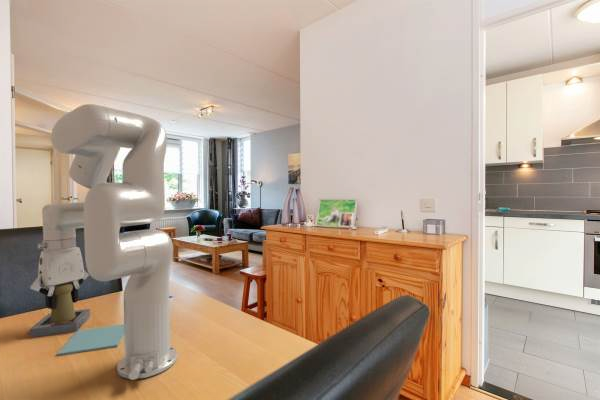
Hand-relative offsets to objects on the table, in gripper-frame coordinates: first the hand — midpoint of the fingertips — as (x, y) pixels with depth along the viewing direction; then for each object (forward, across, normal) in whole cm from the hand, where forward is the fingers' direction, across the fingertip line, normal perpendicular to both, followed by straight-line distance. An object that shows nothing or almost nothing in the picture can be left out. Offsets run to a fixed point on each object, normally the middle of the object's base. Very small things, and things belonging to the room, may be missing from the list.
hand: (62, 304), depth 89 cm
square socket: (+7, 0, +1) cm, 7 cm away
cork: (+5, 0, 0) cm, 5 cm away
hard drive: (+8, +27, -5) cm, 28 cm away
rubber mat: (+7, 0, -17) cm, 18 cm away
